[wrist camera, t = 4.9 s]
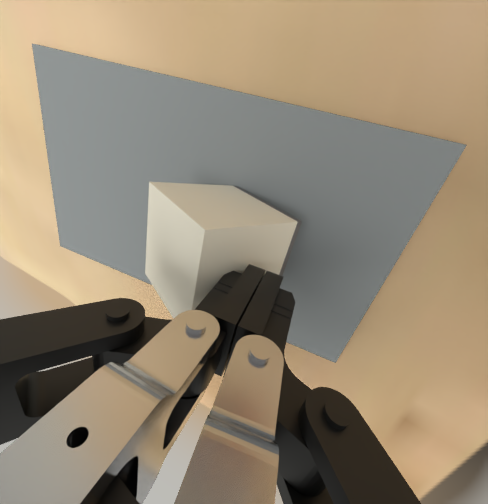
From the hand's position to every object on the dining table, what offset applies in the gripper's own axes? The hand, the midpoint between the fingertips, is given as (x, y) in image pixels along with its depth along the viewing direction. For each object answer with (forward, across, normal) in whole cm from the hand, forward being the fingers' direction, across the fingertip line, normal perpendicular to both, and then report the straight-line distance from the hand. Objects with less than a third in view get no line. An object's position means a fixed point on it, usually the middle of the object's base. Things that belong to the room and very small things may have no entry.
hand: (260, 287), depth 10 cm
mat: (+5, +6, 0) cm, 8 cm away
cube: (+4, +1, 0) cm, 4 cm away
